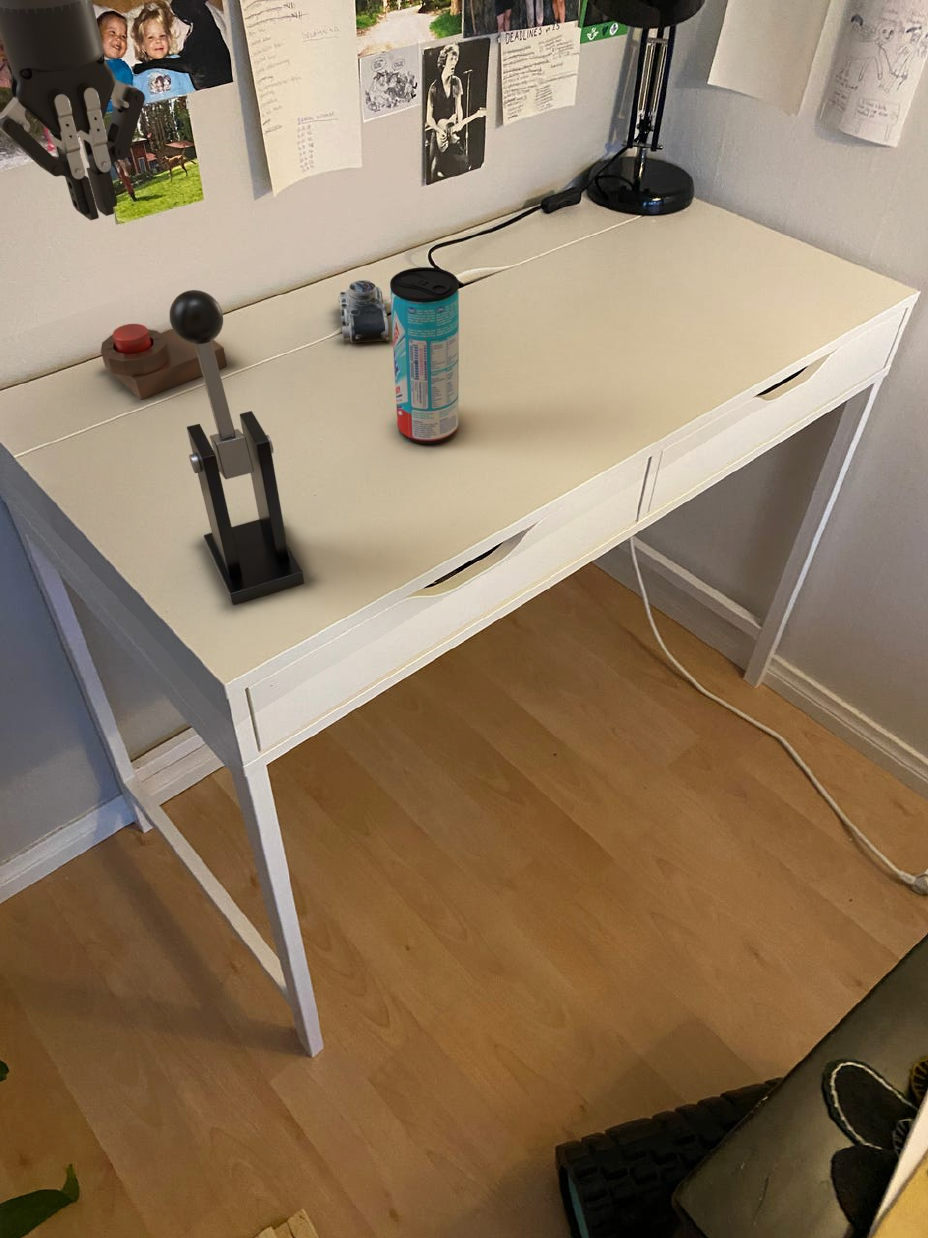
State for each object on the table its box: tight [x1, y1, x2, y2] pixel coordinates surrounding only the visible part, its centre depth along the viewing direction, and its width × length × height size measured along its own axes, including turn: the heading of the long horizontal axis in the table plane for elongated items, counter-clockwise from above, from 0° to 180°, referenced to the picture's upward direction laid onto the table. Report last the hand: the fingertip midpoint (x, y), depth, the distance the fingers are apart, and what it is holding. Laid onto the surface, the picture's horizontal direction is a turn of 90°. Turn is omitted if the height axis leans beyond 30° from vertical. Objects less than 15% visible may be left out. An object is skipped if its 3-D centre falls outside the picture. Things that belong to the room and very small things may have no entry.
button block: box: [100, 328, 228, 400], centre depth 99 cm, size 11×7×4 cm, turn 131°
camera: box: [337, 279, 391, 344], centre depth 106 cm, size 5×10×4 cm, turn 8°
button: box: [112, 323, 151, 354], centre depth 96 cm, size 3×3×2 cm
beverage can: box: [389, 266, 460, 445], centre depth 87 cm, size 6×6×15 cm
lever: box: [168, 289, 254, 480], centre depth 68 cm, size 13×4×4 cm
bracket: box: [186, 410, 305, 605], centre depth 74 cm, size 8×6×13 cm
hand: (98, 213), depth 87 cm, fingers closed
